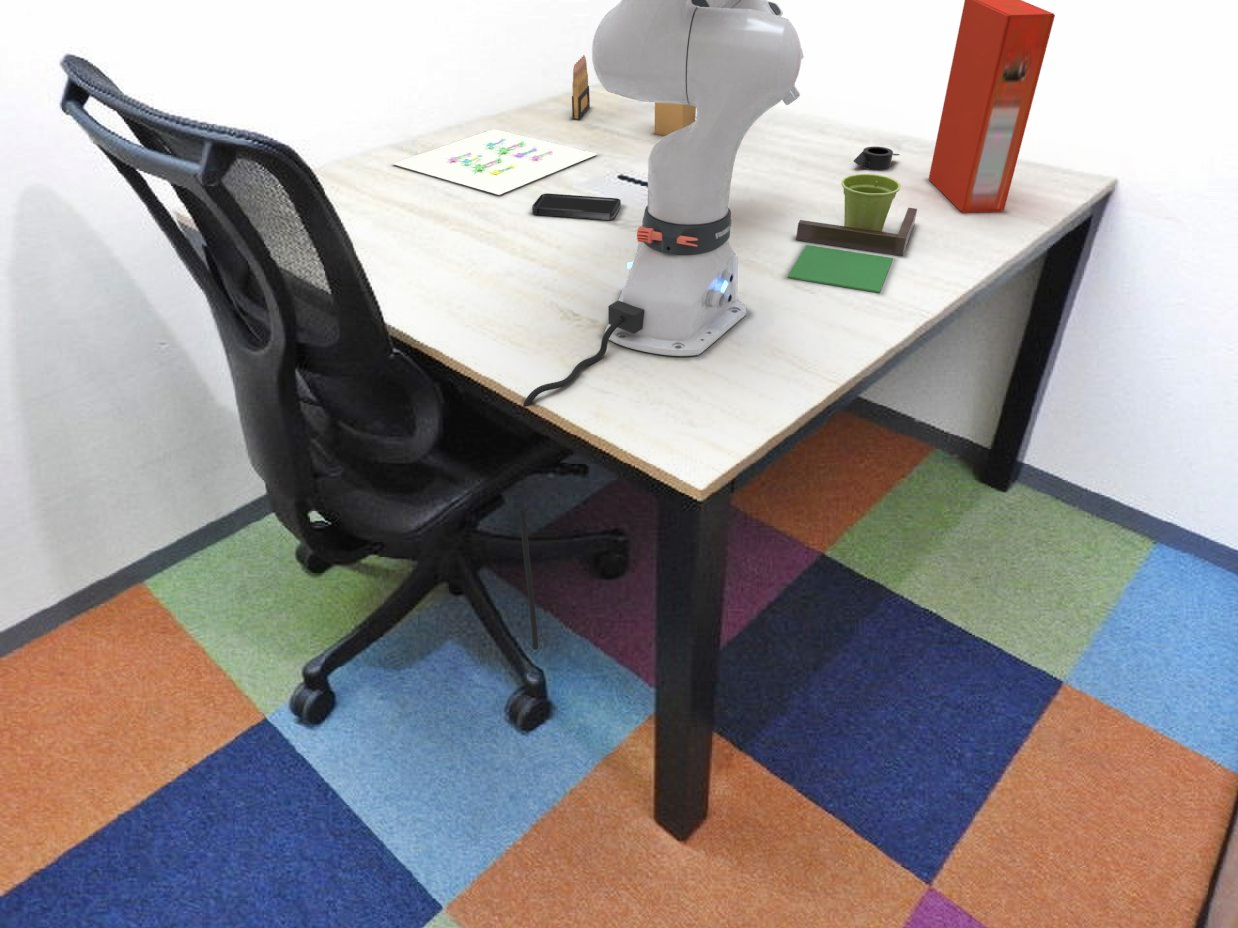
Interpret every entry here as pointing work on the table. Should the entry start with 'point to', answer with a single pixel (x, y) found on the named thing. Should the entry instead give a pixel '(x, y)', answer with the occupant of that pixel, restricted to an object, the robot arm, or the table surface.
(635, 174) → the table surface
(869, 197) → the plant pot
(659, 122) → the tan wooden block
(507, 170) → the printed paper
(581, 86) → the ammunition clip
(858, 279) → the green cloth
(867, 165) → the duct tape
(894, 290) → the table surface
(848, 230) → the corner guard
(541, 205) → the phone
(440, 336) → the table surface
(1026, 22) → the file binder
